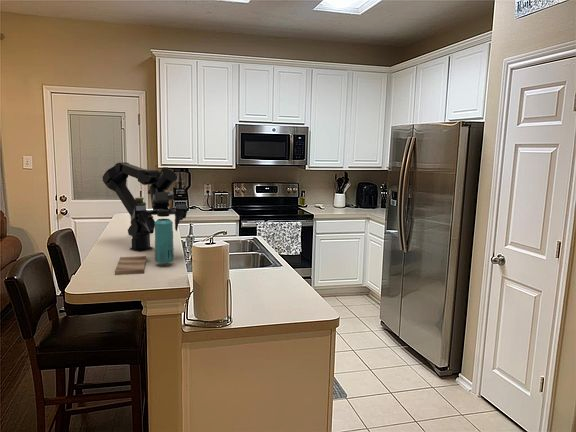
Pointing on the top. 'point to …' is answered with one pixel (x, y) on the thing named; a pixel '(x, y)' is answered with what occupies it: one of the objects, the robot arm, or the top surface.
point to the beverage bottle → (164, 238)
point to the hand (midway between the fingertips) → (163, 231)
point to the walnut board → (131, 265)
